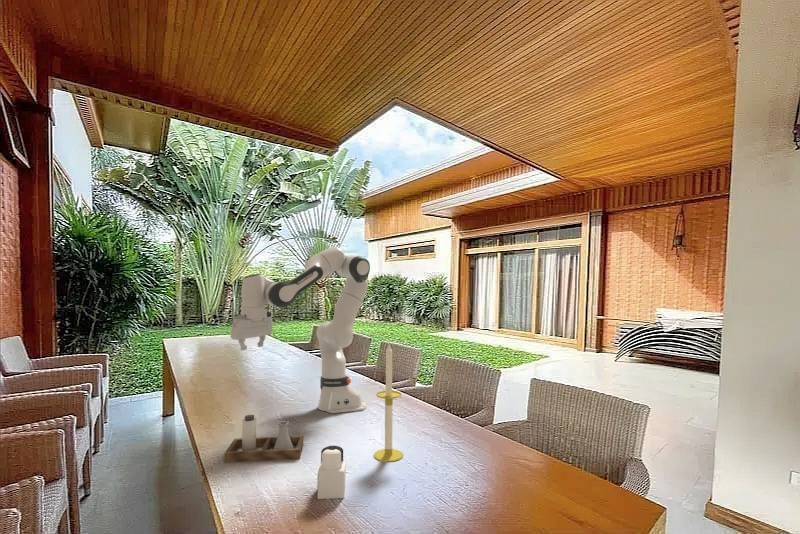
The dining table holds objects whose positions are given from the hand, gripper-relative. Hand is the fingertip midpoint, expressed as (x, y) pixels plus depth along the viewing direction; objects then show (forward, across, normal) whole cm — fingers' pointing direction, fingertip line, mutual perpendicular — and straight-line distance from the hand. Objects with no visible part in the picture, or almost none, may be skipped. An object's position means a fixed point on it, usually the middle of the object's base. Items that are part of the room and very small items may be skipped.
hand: (252, 348), depth 165 cm
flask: (+31, -15, -28) cm, 45 cm away
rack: (+31, -18, -23) cm, 43 cm away
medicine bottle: (+31, -32, -57) cm, 73 cm away
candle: (+31, -4, -62) cm, 70 cm away
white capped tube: (+31, -21, -18) cm, 41 cm away
